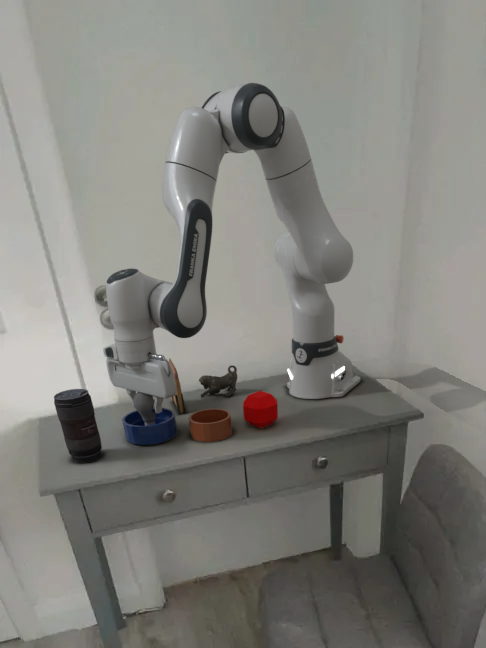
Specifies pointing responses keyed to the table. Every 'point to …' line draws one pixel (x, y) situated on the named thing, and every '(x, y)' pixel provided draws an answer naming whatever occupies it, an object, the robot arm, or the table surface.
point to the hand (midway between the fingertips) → (147, 409)
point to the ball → (260, 409)
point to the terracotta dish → (210, 425)
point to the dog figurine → (219, 383)
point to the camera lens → (78, 424)
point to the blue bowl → (150, 428)
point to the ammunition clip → (178, 396)
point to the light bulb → (145, 407)
